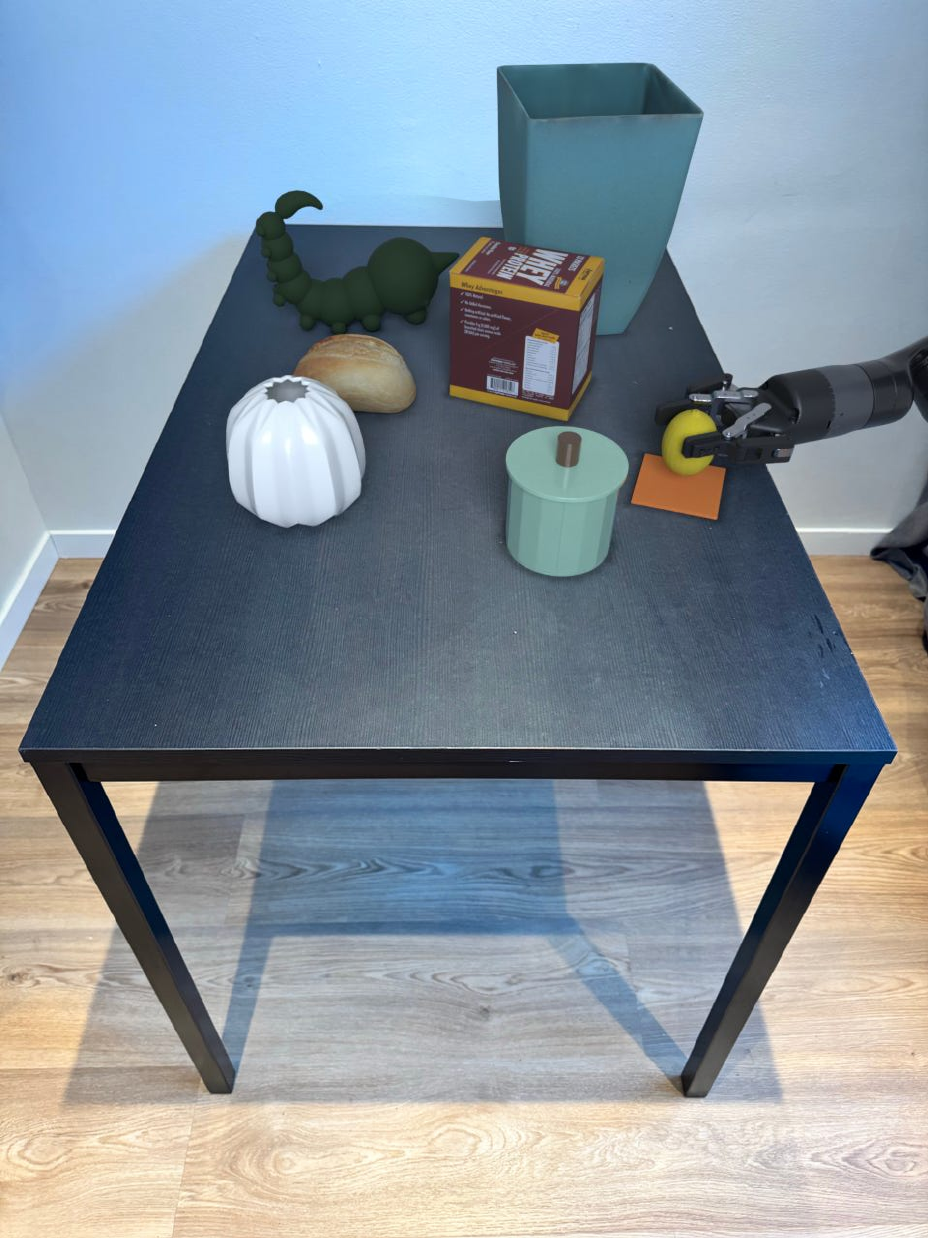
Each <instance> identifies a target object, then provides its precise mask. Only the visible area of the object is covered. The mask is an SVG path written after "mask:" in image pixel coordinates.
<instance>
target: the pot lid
mask: <svg viewBox="0 0 928 1238" xmlns="http://www.w3.org/2000/svg"><path fill="white" fill-rule="evenodd" d="M509 445H510V446H509V447H508V449H507V450H506V454H505V461H504V462H505V468H506V472H507V474H508V477H509V476H510V477H511V479H512V480H513V481H514V482H515V483H516V484H517V485H518V486H519V487H521V488H522V489H523V490H525V491H527V492H529V493H530V494H533V495H535V496H537V497H540V498H543V499H547V500H551V501H556V502H564V503H581V502H589V501H594V500H598V499H601V498H604V497H606V496H608V495H610V494H612V493H614V492H615V491H616V490H618V489H619V488H620V489H621V487H622V486H623V485H624V483H626V480H627V478H628V475H629V469H630V466H629V460H628V457H627V455H626V453H625V451H624V450H623V448H621V447H620V446H619V444H617V443H616V442H615V441H614V440H612V439H611V438H609V437H607V436H605V435H603V434H601V433H599V432H596V431H593V430H590V429H587V428H583V427H576V426H566V425H561V426H559V425H556V426H546V427H540V428H537V429H533V430H531V431H528V432H526V433H523V434H522V435H521V436H519V437H518V438H516V439H515V440H514V441H513V442H511V444H509Z"/></svg>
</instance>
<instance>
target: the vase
mask: <svg viewBox="0 0 928 1238" xmlns="http://www.w3.org/2000/svg"><path fill="white" fill-rule="evenodd" d="M225 429H226V431H225V432H226V433H225V447H226V458H227V463H228V478H229V484H230V488H231V493H232V495H233V497H234V499H235V502H236V503H238V504H239V505H240V506H242V507H243V508H245V509H246V510H247V511H249V512H251V513H252V514H253V515H255V516H256V517H257V518H259V519H260V520H262V521H266V522H268V523H270V524H273V525H276V526H278V527H281V528H285V529H288V528H289V529H290V528H292V527H293V526H296V525H304V526H309V527H317V526H320V524H322V523H324V522H326V521H327V520H329V519H331V518H332V517H339V516H340V515H342V514H343V513H344V512H345V511H346V510H347V509H348V508H349V507H350V506H351V505H352V504H353V503H354V502H355V501H356V500H357V499H358V498H359V497H360V496H361V493H362V479H363V478H364V475H365V473H366V464H367V460H366V449H365V446H364V445H365V444H364V440H363V436H362V431H361V430H360V426H359V423H358V421H357V418H356V416H355V413H354V411H352V410H351V408H350V407H349V405H348V404H347V403H346V402H345V401H344V400H342V399H341V398H340V397H339V396H338V394H337V392H336V390H335V389H333V388H331V387H329V386H328V385H326V384H323V383H321V382H319V381H316V380H313V379H310V378H307V377H303V376H300V377H297V376H294V375H292V374H284V375H282V376H280V377H271V378H267V379H265V380H263V381H262V382H260V383H258V384H257V385H255V386H253V387H252V388H250V389H249V390H248V391H247V392H246V393H245V394H244V396H243V397H242V398H240V399H239V400H238V402H236V404H234V405H233V406H232V407H231V409H230V412H229V414H228V417H227V420H226V428H225Z"/></svg>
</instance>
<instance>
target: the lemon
mask: <svg viewBox="0 0 928 1238" xmlns="http://www.w3.org/2000/svg"><path fill="white" fill-rule="evenodd" d="M702 411H703V410H702ZM702 411H700V410H699V408H698V409H694V410H687V411H684V412H681V413H679V414H678V415H676V416H675V417H674V418H673V419H672V420H671V421H670V423H669V425H667V426H666V429H665V430H664V433H663V436H662V439H661V440H662V441H661V456H662V457H663V459H664V462H665V464H666V465H667V466H668V468H669V469H670V470H672V471H673V472H675V473H677V474H679V475H680V476H689V475H694V474H697V473H699V472H701V471H703V470H704V469H705V468H706V467H707V466H708V465H710V464H711V462H712V461H713V460H714V457H715V455H710V456H705V457H700V458H688V459H686V458H685V457H684V456H683V455H682V453H681V450H682V446H683V441H684V439H685V438H686V437H688V436H693V435H698V434H703V433H708V432H714V431H718V430H717V425H715V423H714V421H713V420H712V419H711V417H710V416H708V415H707V414H706V413H704V412H702Z"/></svg>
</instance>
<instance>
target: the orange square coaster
mask: <svg viewBox="0 0 928 1238" xmlns="http://www.w3.org/2000/svg"><path fill="white" fill-rule="evenodd" d="M726 470H727V469H726V468H725V467H722V466H721V467H720V466H716V465H710V464H709V465H708V466H707V467H706V468H705V469H704V470H703V471H701V472H699V473H697V474H694V475H689V476H680V475H679V474H677V473H675V472H673V471H672V470H670V469H669V468H668V466H667V465H666V464H665V462H664V459H663V456H662V455H656V454H650V453H644V455H643V458H642V462H641V465H640V469H639V472H638V476H637V478H636V483H635V487H634V490H633V493H632V497H631V500H630V503H631V504H634V505H639V506H645V507H650V508H655V509H659V510H665V511H670V512H674V513H679V514H685V515H690V516H695V517H699V518H706V519H711V520H715V521H716V520H718V517H719V510H720V504H721V499H722V493H723V487H724V483H725V482H724V481H725V476H726Z"/></svg>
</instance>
